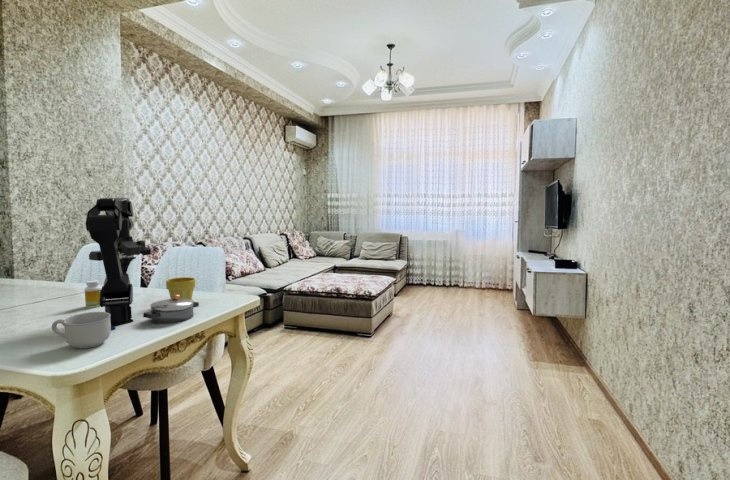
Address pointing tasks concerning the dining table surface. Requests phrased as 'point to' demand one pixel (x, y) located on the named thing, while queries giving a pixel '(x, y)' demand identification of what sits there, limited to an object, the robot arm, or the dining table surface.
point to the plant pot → (181, 287)
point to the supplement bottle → (92, 294)
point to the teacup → (85, 329)
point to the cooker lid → (172, 304)
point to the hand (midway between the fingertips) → (122, 277)
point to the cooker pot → (171, 315)
